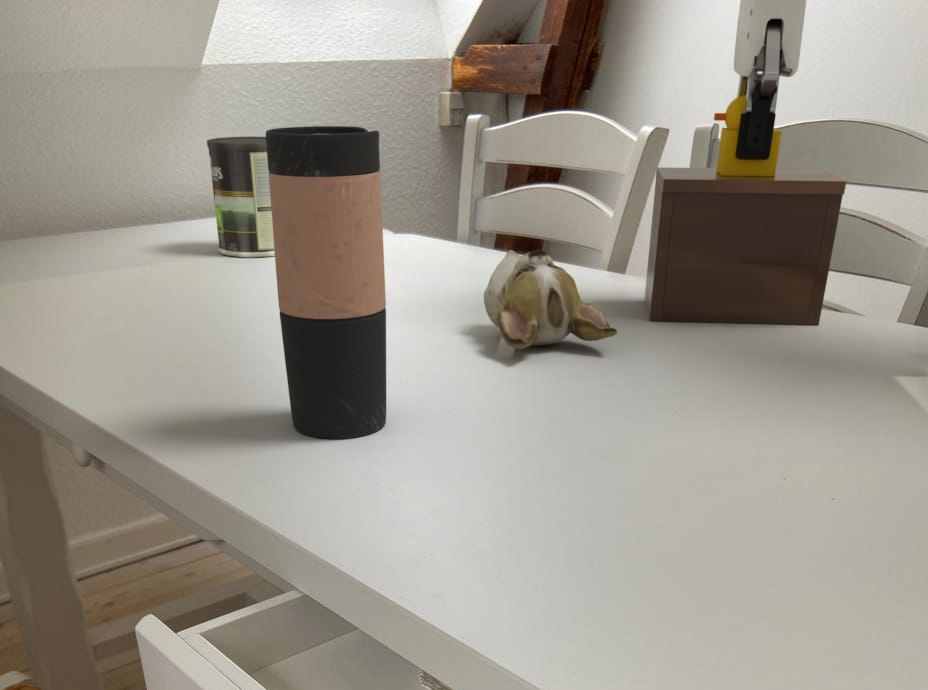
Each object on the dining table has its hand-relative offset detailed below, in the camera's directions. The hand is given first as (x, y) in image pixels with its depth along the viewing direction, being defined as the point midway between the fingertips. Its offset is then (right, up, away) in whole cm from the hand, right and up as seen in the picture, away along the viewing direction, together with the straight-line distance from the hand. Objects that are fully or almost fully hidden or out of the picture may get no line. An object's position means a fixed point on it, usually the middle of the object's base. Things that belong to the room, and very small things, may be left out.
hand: (748, 154), depth 100 cm
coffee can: (-57, +6, +40) cm, 70 cm away
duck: (0, -2, +1) cm, 2 cm away
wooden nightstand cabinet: (0, -13, +8) cm, 15 cm away
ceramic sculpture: (-21, -20, -3) cm, 29 cm away
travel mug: (-38, -32, -24) cm, 56 cm away
